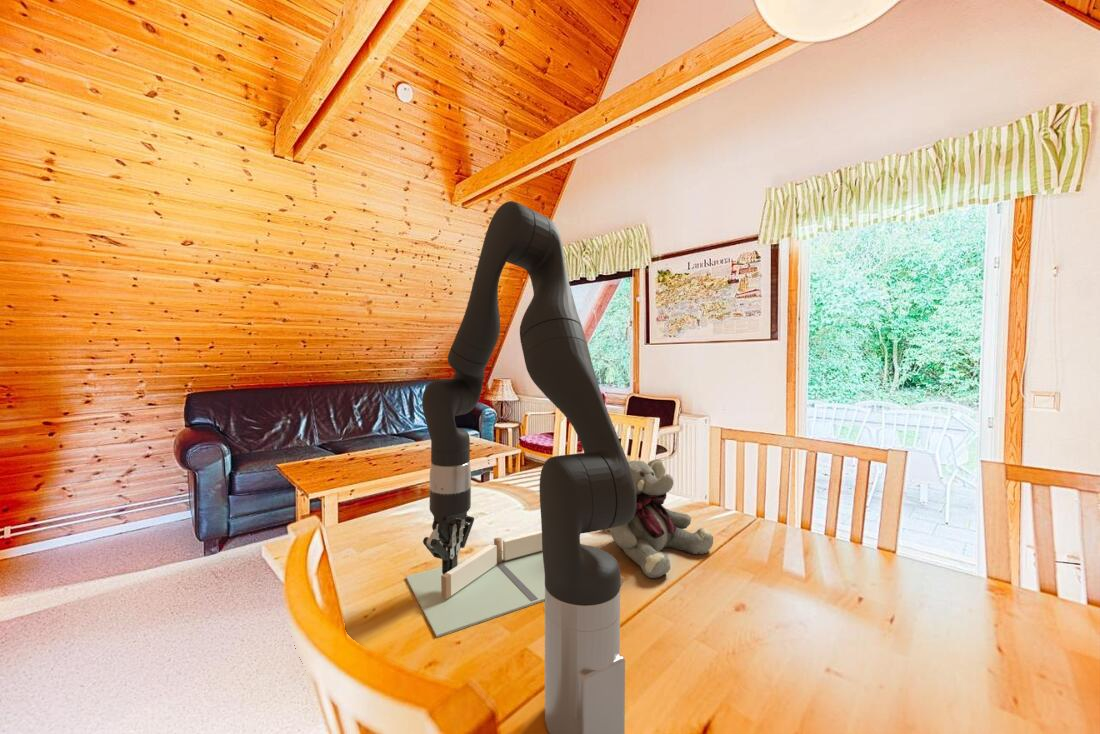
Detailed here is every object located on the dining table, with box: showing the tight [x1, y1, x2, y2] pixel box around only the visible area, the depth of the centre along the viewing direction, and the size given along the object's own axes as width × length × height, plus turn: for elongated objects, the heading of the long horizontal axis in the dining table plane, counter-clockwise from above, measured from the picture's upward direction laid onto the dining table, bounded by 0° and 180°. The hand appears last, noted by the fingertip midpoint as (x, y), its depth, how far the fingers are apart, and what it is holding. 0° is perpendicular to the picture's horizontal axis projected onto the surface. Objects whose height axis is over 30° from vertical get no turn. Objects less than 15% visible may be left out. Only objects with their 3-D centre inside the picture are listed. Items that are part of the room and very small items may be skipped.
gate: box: [441, 543, 497, 599], centre depth 86 cm, size 15×1×4 cm, turn 149°
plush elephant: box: [603, 458, 714, 579], centre depth 102 cm, size 27×22×21 cm
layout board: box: [405, 550, 545, 638], centre depth 88 cm, size 21×33×1 cm, turn 121°
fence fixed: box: [493, 529, 542, 564], centre depth 97 cm, size 2×16×6 cm, turn 121°
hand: (449, 574), depth 84 cm, fingers closed
